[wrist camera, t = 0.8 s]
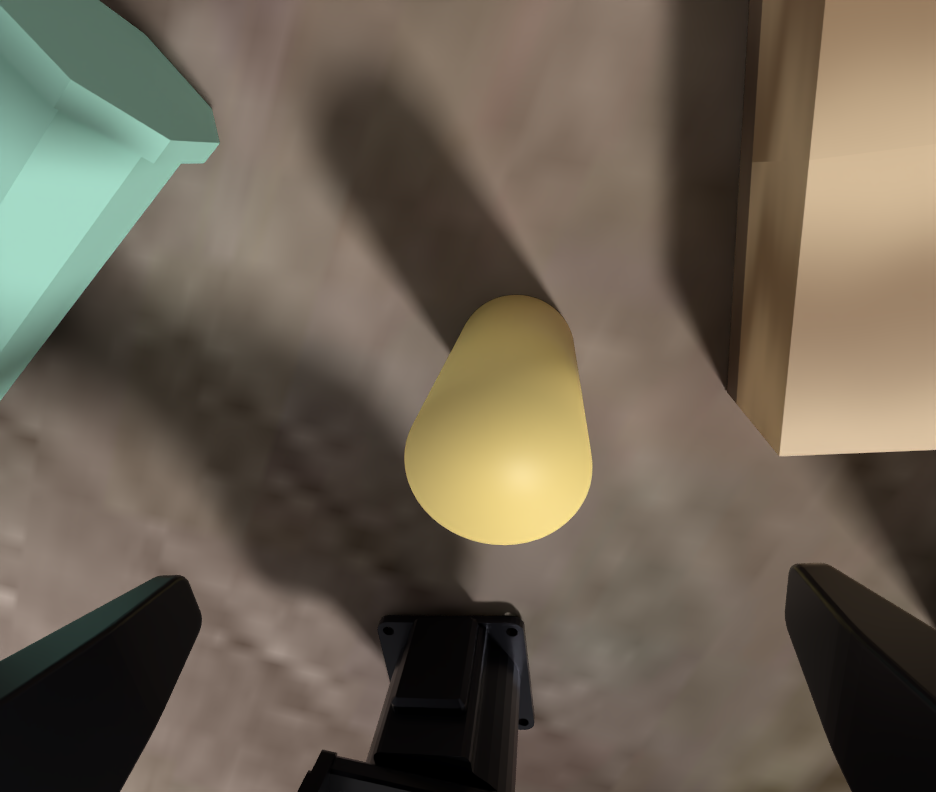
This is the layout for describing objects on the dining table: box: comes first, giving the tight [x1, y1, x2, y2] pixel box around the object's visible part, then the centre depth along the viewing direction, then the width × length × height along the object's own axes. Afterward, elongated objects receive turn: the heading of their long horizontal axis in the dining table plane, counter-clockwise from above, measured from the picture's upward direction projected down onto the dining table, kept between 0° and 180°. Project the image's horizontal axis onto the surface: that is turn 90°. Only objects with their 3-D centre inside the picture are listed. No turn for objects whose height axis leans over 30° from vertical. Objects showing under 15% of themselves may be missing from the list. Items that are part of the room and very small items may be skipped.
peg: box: [404, 295, 592, 545], centre depth 15 cm, size 4×4×8 cm
